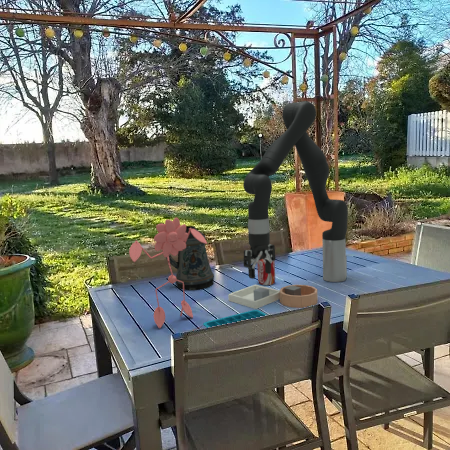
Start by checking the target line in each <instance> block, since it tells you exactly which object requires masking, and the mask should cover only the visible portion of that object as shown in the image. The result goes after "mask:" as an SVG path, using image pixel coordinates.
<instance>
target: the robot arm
mask: <svg viewBox="0 0 450 450" xmlns="http://www.w3.org/2000/svg"><path fill="white" fill-rule="evenodd" d="M316 116H317V109H316V107H315V105H314V104H313V103H312V102H311V101H308V100H307V101H305V100H304V101H297V102H291V103H290V102H289V103H287V104H286V105H284V107H283V108H282V120H283V124H284V125H285V128H286V130H285V131H284V132H283V133H282V134H281V135H280V136H279V137H278V138H277V139H275V140H274V141H273V143H271V144H270V145H269V147H268V148H267V149H266V151H265V153H264V154H263V155H262V157H261V159H260V160H259V162H258V163H257V164H256V165H255V166H254V167H253V168H252V169H251V170H250V171H249V172H248V173H247V174H246V176H245V178H244V180H243V185H242V187H243V189H244V191H245V192H246V193H247V194H249V195H253V196H254V199H253V201H251V202H249V204H248V208H247V211H248V212H247V213H248V217H247V218H248V220H247V221H248V224H247V232H248V234H247V235H248V245H249V246H250V249H249V250H247V249H244V250H243V267H244V268H247V270H248V277H249V279H251V280H254V279H256V269H255V267H256V265H257V263H258V261H259V260H261V259H264V261H265V262H266V263H265V273H268V274H270V273H271V263H272V261H274V262H275V261H276V247H275V244H271V239H270V238H271V237H270V235H271V234H270V233H271V232H270V222H269V221H270V220H269V204H270V201H271V200H270V199H271V196H272V191H273V183H272V180H271V178H270V176H273V175H275V174H277V172H278V171H279V169H280V168H281V166H282V164H283V162H284V161H285V159H286V158H287V156H288V154H289V153H290V152H291V150H292V149H293V147H294V148H295V149H296V152H297V154H298V157H299V160H300V163H301V165H302V168H303V172H304V174H305V176H306V179H307V181H308V185H309V187H310V190H311V193H312V194H311V195H312V197H313V202H314V205H315V209H316V213H317V216H318V218H319V219H320V220H321V221H323V222H326V223H331V227H330V229H329V228H328V229H326V230H324V231H323V232H322V234H321V235H322V236H321V238H322V239H321V240H322V276H323V277H322V280H323V281H326V282H331V283H341V282H344V281H346V279H347V278H348V275H347V274H348V272H347V271H348V267H347V266H348V264H347V260H348V258H347V251H346V250H347V249H346V248H347V246H346V245H347V244H346V240H347V239H346V238H347V236H346V235H347V233H348V232H347V231H348V219H349V218H348V217H349V216H348V213H349V211H348V205H347V202H345V200H343V199H330V198H329V195H328V193H327V187H326V186H327V182H328V178H329V175H330V167H329V164H328V161H327V157H326V155H325V154H324V151H323V150H322V149H321V147H320V146H318V144H317V143H316V142H315V141H314V140H313V139H312V138H311V136H309V134H308V132H307V131H308V129H310V127H311V126H312V125H313V123H314V122H315V120H316V118H317V117H316ZM271 255H272V257H271ZM346 277H347V278H346Z"/></svg>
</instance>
